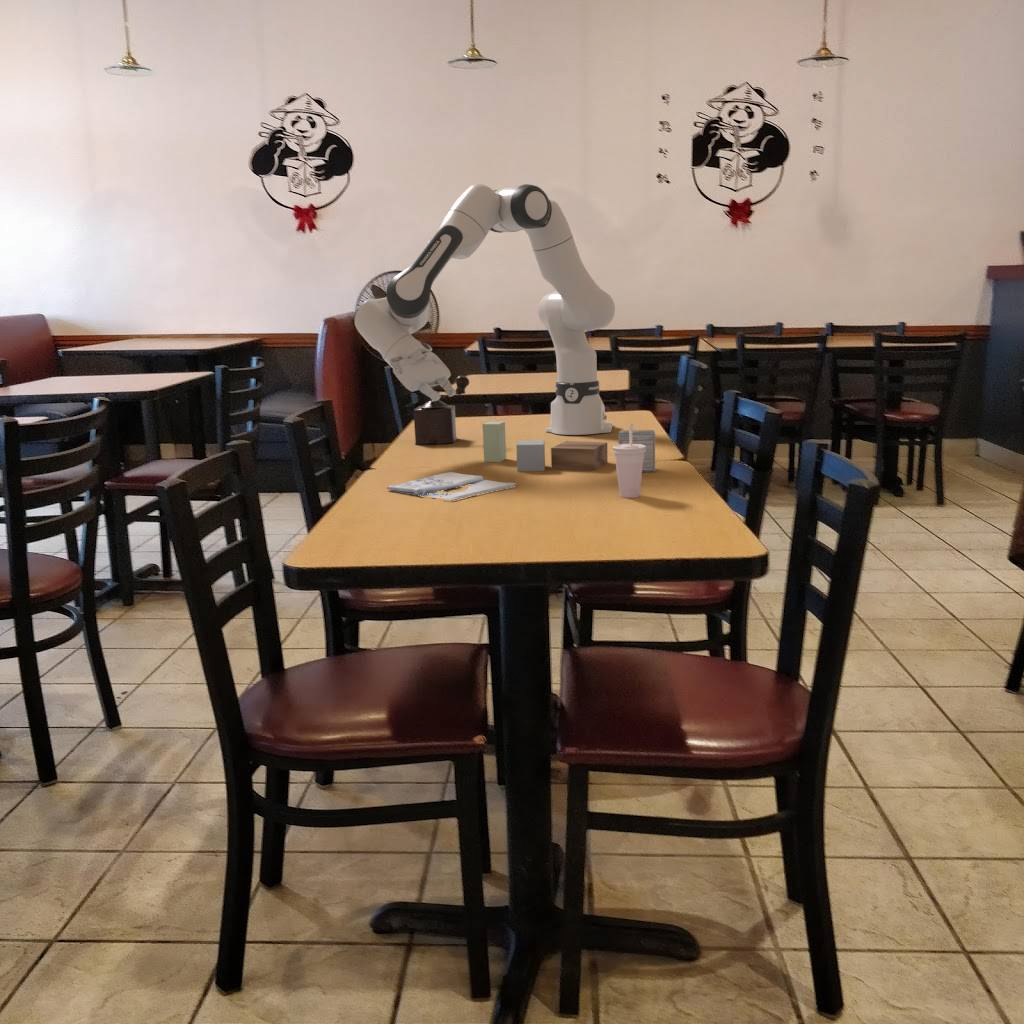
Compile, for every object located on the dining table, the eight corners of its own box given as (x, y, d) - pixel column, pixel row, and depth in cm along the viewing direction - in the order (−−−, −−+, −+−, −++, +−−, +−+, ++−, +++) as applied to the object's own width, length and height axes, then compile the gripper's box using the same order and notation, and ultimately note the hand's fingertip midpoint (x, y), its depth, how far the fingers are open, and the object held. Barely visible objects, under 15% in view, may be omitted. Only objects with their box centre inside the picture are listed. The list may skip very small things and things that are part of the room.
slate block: (519, 466, 219) (518, 440, 218) (545, 466, 219) (544, 440, 217) (517, 471, 213) (516, 445, 212) (544, 471, 213) (543, 444, 211)
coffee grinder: (413, 445, 255) (409, 377, 251) (420, 439, 266) (416, 374, 262) (471, 444, 254) (468, 376, 250) (475, 437, 265) (472, 372, 261)
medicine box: (654, 468, 211) (654, 429, 209) (655, 472, 206) (655, 432, 204) (618, 469, 212) (618, 430, 210) (618, 472, 207) (618, 433, 205)
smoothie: (625, 500, 180) (624, 427, 176) (606, 495, 185) (605, 423, 182) (653, 496, 182) (653, 423, 179) (633, 491, 188) (633, 420, 185)
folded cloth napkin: (454, 479, 210) (454, 469, 209) (519, 490, 196) (519, 479, 195) (385, 493, 197) (384, 483, 197) (449, 506, 183) (448, 495, 182)
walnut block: (566, 462, 224) (566, 441, 223) (607, 463, 220) (607, 442, 219) (551, 469, 215) (551, 447, 214) (593, 471, 211) (593, 449, 210)
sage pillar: (490, 458, 231) (489, 421, 229) (506, 458, 229) (504, 421, 227) (484, 461, 227) (482, 424, 225) (499, 462, 225) (498, 424, 223)
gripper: (395, 349, 219) (436, 392, 218) (431, 343, 238) (469, 383, 237) (378, 369, 221) (419, 411, 220) (415, 362, 240) (453, 401, 239)
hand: (445, 396), depth 229 cm, fingers open, 8 cm apart
